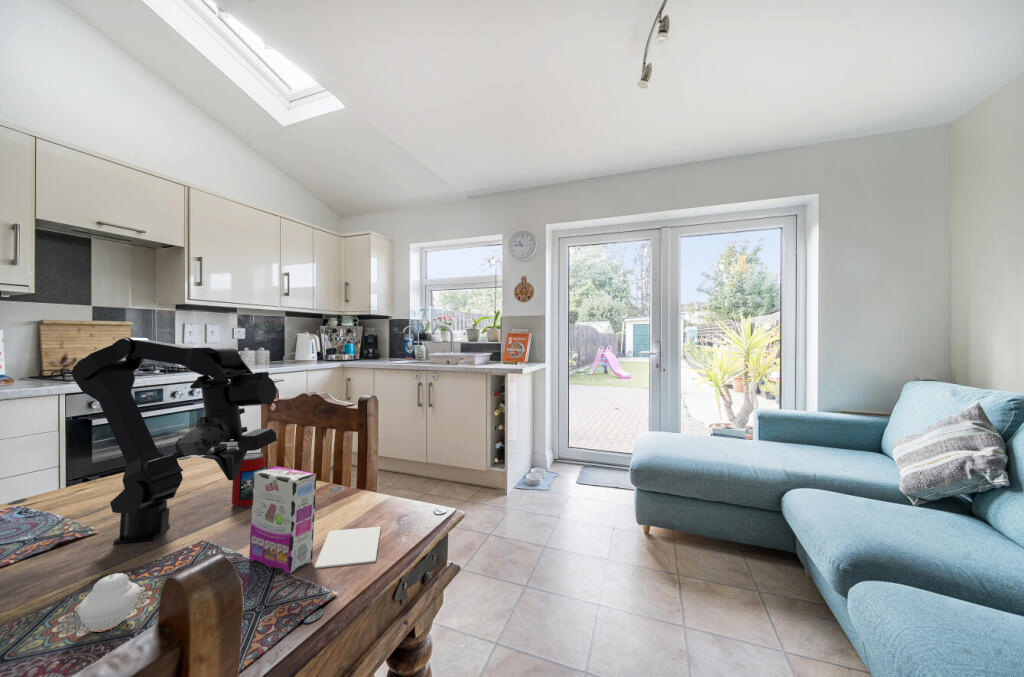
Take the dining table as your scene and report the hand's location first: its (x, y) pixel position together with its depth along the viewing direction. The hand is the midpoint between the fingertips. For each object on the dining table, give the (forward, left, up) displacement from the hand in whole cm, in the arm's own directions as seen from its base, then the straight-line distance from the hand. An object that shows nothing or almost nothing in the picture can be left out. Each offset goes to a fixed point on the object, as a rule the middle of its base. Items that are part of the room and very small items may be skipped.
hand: (232, 479), depth 81 cm
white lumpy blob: (-5, -26, -12) cm, 29 cm away
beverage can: (-3, +17, -12) cm, 21 cm away
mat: (+25, -10, -11) cm, 29 cm away
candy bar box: (+13, -13, -12) cm, 22 cm away
